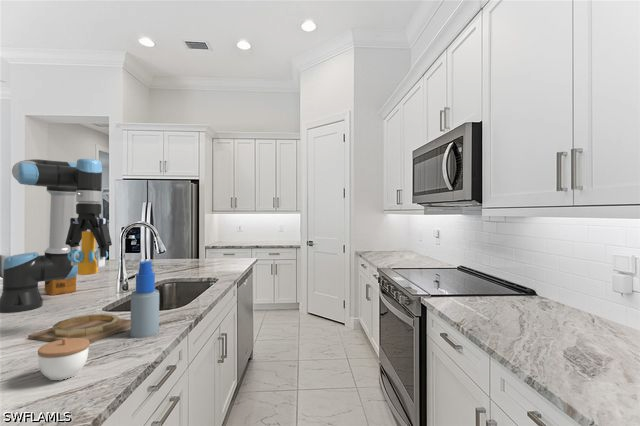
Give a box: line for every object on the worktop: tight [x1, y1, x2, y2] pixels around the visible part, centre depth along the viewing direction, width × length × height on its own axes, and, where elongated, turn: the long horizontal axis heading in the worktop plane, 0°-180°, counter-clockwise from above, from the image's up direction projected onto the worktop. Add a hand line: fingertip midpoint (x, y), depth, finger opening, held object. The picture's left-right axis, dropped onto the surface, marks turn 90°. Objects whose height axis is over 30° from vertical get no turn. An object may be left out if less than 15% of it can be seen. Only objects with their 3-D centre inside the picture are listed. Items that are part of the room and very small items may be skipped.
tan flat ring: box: [52, 313, 120, 337], centre depth 124 cm, size 19×19×2 cm
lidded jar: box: [37, 338, 90, 381], centre depth 90 cm, size 11×11×9 cm
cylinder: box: [68, 230, 109, 276], centre depth 124 cm, size 12×10×15 cm
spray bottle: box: [129, 260, 160, 339], centre depth 122 cm, size 9×9×25 cm
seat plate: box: [27, 318, 131, 345], centre depth 124 cm, size 23×23×1 cm
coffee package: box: [44, 275, 77, 296], centre depth 180 cm, size 10×12×22 cm
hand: (88, 265), depth 124 cm, fingers closed on cylinder, 10 cm apart
